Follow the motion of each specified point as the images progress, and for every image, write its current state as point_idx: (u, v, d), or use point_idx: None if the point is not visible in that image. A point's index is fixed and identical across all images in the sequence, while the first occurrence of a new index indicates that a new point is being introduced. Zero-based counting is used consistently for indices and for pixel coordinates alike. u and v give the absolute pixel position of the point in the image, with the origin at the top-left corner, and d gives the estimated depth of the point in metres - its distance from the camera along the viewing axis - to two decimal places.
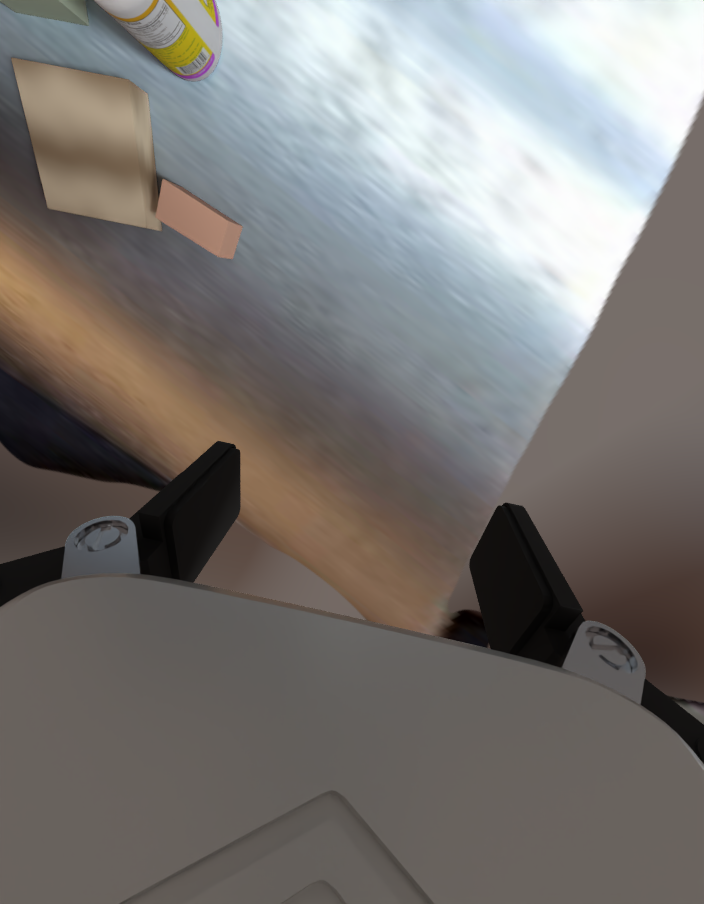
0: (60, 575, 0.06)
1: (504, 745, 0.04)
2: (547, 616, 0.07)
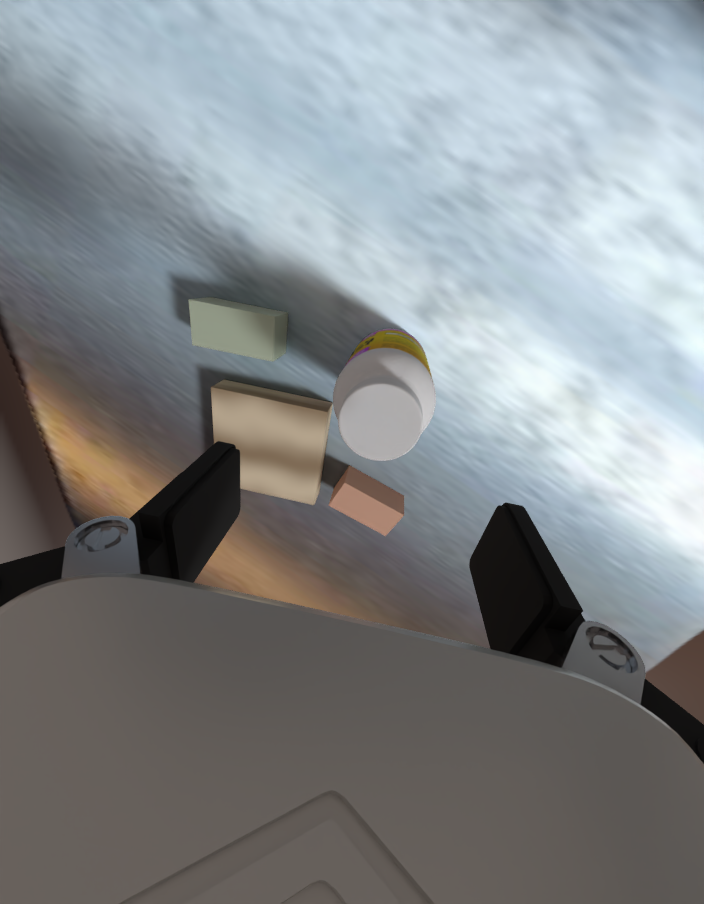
0: (60, 575, 0.06)
1: (505, 745, 0.04)
2: (547, 616, 0.07)
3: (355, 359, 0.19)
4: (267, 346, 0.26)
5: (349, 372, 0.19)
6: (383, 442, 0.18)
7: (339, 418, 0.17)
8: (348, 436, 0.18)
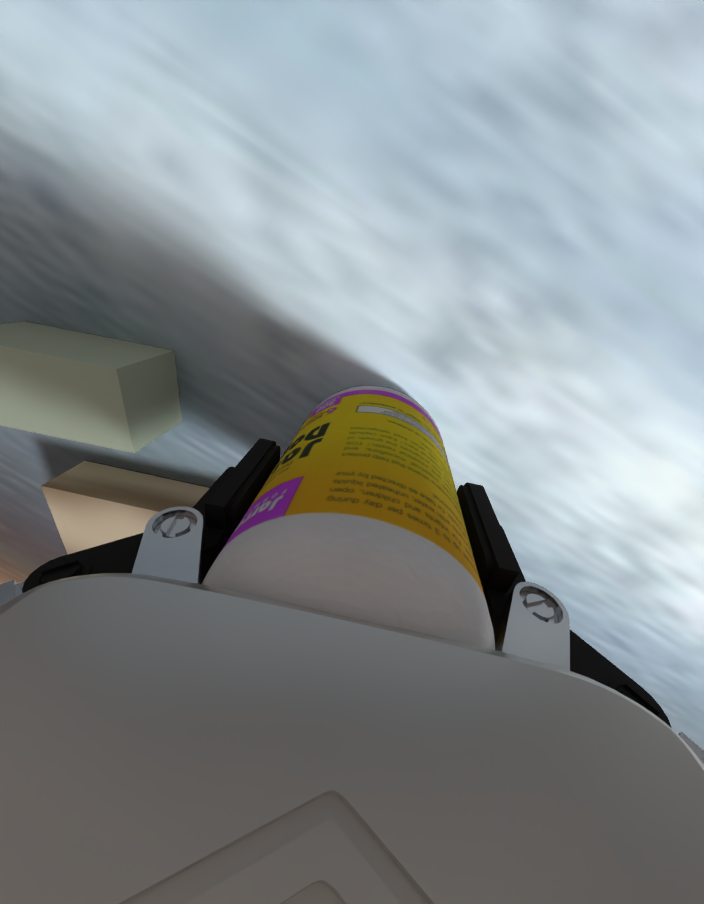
0: (137, 553, 0.07)
1: (505, 745, 0.04)
2: (489, 578, 0.08)
3: (239, 553, 0.06)
4: (116, 426, 0.12)
5: None
6: None
7: None
8: None
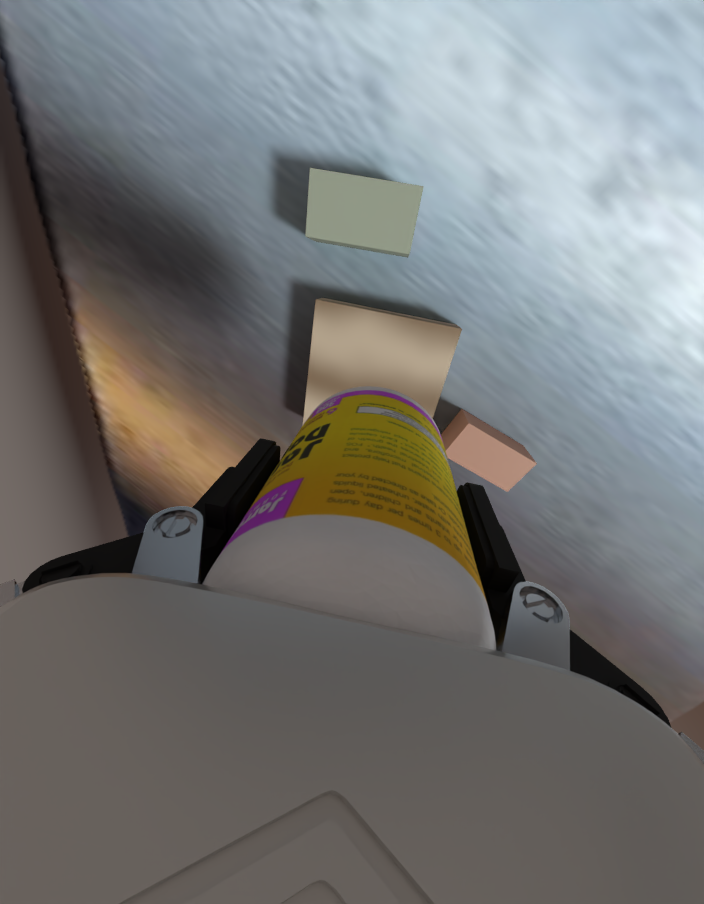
0: (137, 553, 0.07)
1: (504, 745, 0.04)
2: (489, 578, 0.08)
3: (239, 555, 0.06)
4: (405, 232, 0.20)
5: None
6: None
7: None
8: None
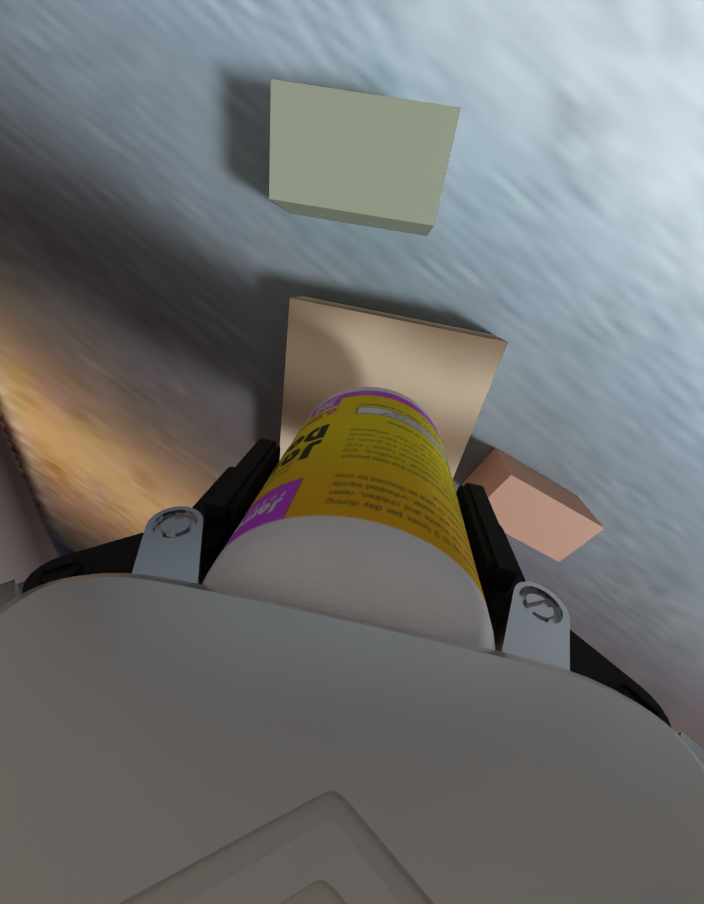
0: (137, 553, 0.07)
1: (504, 745, 0.04)
2: (489, 578, 0.08)
3: (238, 556, 0.06)
4: (428, 189, 0.12)
5: None
6: None
7: None
8: None
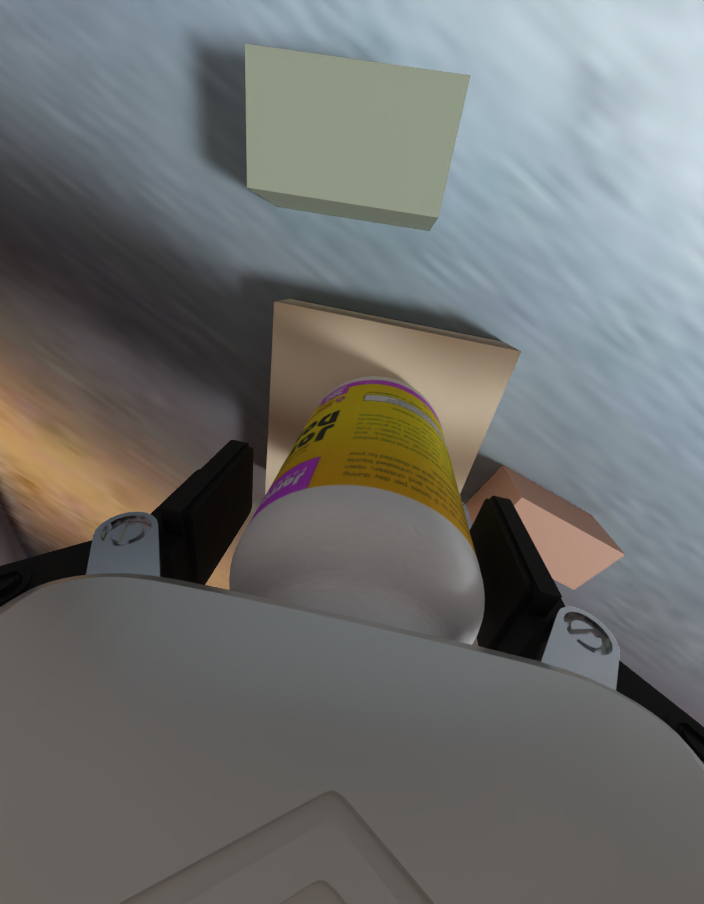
0: (86, 566, 0.07)
1: (504, 745, 0.04)
2: (528, 602, 0.08)
3: (271, 518, 0.07)
4: (432, 174, 0.11)
5: (254, 557, 0.07)
6: None
7: None
8: None
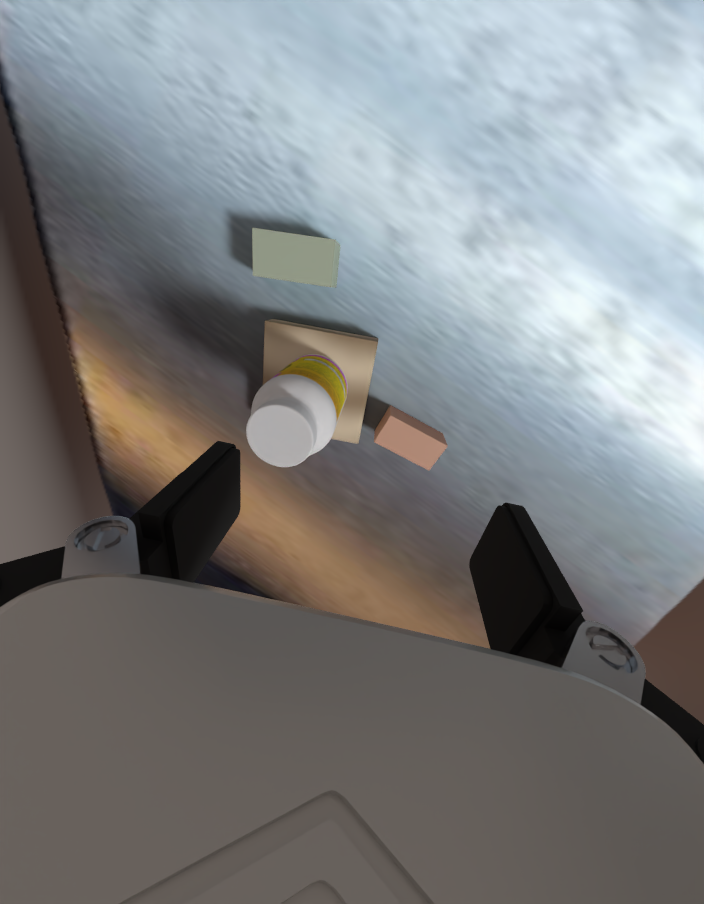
0: (60, 575, 0.06)
1: (505, 745, 0.04)
2: (547, 616, 0.07)
3: (265, 384, 0.23)
4: (326, 271, 0.27)
5: (260, 394, 0.23)
6: (284, 452, 0.22)
7: (246, 433, 0.21)
8: (256, 447, 0.22)
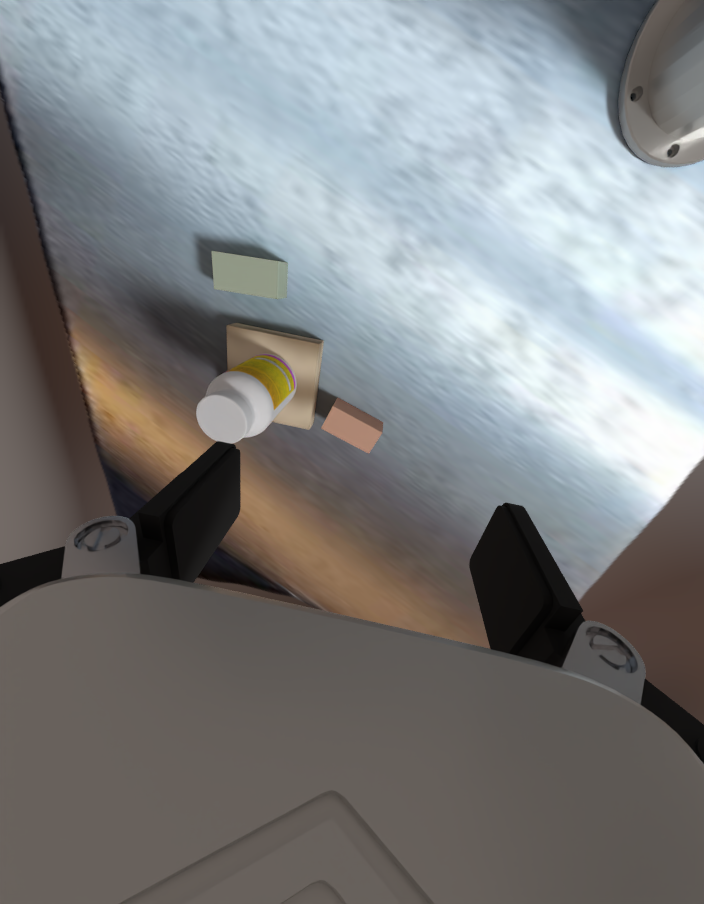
0: (60, 575, 0.06)
1: (504, 745, 0.04)
2: (547, 616, 0.07)
3: (215, 378, 0.29)
4: (272, 286, 0.33)
5: (210, 387, 0.29)
6: (226, 431, 0.28)
7: None
8: (204, 427, 0.28)
